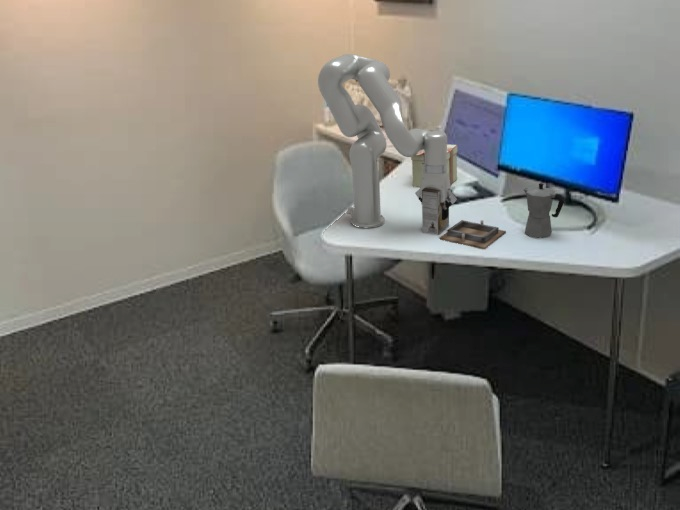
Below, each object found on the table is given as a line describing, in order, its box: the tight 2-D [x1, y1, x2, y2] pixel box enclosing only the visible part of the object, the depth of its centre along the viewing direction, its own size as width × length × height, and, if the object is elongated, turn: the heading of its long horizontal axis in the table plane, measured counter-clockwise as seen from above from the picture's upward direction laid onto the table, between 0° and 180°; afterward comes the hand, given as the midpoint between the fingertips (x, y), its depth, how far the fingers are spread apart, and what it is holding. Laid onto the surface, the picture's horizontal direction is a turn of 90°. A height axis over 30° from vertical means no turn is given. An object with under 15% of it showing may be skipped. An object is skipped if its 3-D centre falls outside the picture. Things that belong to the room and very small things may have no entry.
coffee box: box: [421, 188, 450, 236], centre depth 252 cm, size 9×6×16 cm
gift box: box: [410, 143, 458, 188], centre depth 297 cm, size 17×18×17 cm
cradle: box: [438, 219, 507, 250], centre depth 247 cm, size 17×16×3 cm
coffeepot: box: [523, 182, 565, 239], centre depth 243 cm, size 15×9×18 cm, turn 43°
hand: (435, 216), depth 253 cm, fingers closed on coffee box, 6 cm apart
